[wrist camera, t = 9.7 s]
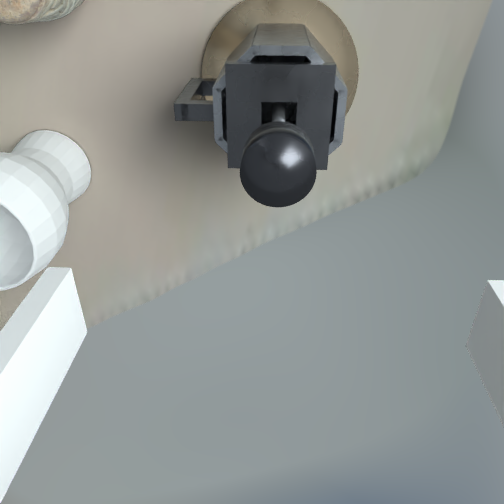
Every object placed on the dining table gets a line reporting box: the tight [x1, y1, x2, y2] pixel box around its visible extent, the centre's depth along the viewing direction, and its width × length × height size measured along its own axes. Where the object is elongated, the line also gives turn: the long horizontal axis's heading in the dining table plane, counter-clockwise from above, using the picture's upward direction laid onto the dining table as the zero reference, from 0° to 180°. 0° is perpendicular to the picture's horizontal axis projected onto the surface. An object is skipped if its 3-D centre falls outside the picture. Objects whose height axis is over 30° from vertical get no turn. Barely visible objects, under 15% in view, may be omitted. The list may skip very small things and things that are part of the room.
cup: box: [0, 130, 91, 290], centre depth 42 cm, size 11×11×15 cm
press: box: [174, 0, 358, 170], centre depth 38 cm, size 14×14×12 cm
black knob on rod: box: [240, 55, 316, 207], centre depth 33 cm, size 6×6×19 cm
